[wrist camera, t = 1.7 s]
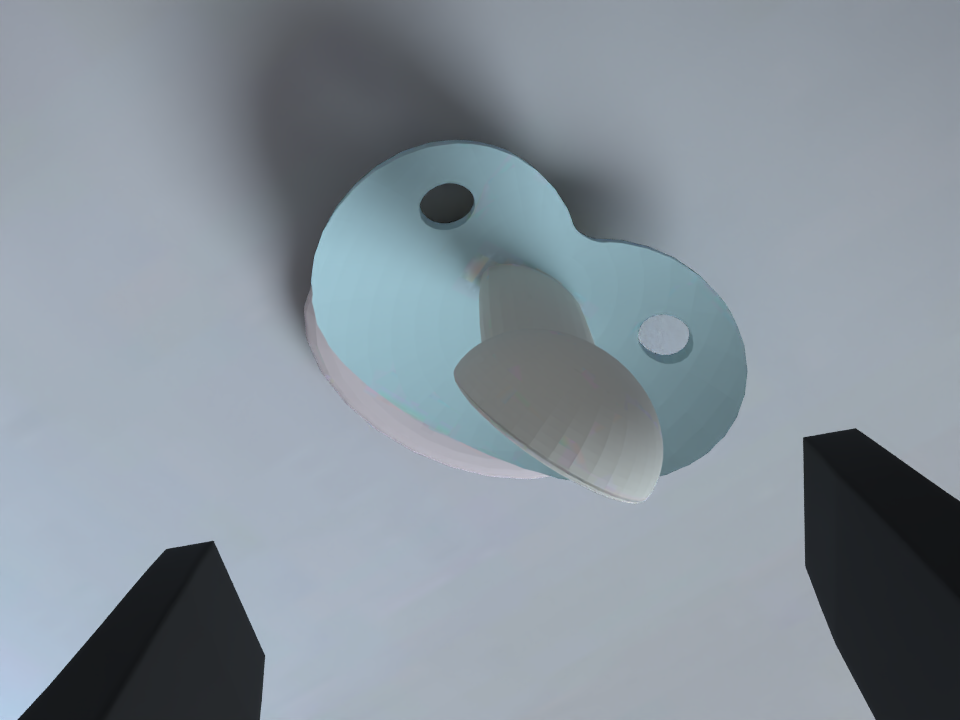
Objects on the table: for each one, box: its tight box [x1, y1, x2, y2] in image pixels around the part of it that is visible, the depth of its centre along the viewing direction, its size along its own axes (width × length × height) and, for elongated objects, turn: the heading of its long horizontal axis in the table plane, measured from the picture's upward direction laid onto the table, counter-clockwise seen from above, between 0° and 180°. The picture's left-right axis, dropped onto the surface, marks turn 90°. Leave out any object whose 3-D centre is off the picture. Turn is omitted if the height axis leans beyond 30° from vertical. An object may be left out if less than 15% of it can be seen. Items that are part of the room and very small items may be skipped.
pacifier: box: [304, 140, 747, 504], centre depth 14 cm, size 7×6×6 cm
